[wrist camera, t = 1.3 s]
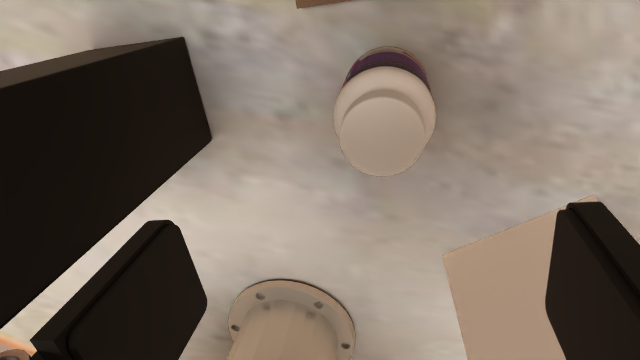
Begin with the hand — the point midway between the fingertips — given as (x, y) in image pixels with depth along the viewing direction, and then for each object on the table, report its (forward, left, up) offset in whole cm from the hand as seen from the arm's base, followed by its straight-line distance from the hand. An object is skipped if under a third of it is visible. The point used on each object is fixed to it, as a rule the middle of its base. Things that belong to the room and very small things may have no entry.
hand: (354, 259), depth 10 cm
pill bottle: (-1, 0, -19) cm, 19 cm away
